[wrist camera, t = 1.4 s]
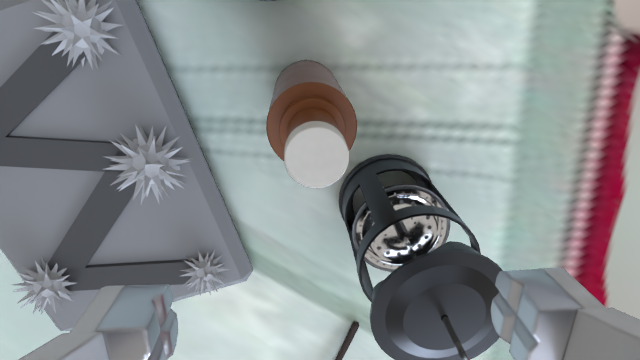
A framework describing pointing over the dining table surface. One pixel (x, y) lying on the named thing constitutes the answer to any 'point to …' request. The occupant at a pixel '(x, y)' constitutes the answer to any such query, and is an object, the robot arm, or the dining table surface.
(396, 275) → the french press
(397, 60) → the dining table surface
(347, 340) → the sushi plate
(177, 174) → the decorative plate
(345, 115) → the bottle
